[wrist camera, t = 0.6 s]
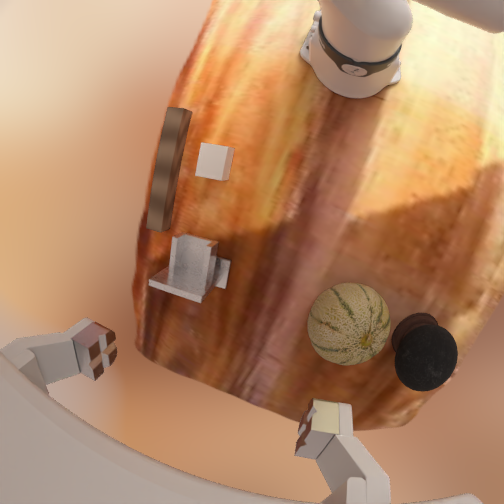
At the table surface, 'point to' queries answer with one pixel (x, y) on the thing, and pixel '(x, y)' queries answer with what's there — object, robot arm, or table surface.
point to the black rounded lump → (423, 352)
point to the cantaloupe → (349, 323)
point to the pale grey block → (214, 161)
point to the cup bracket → (193, 268)
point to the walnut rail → (167, 168)
